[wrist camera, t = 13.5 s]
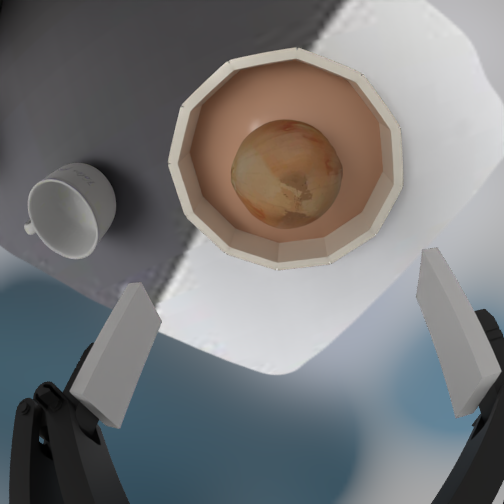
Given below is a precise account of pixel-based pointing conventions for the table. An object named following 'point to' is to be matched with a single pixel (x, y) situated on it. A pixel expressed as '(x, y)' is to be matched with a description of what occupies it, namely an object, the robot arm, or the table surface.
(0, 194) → the table surface
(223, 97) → the bowl
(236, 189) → the onion
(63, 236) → the teacup
